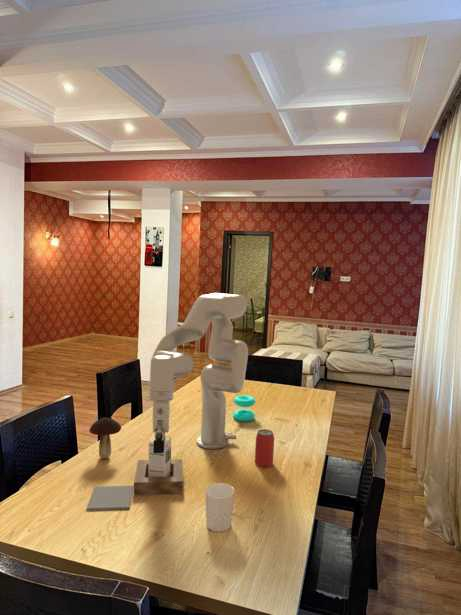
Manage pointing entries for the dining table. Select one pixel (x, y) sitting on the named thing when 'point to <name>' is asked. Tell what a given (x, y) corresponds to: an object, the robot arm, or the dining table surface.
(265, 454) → the beer can
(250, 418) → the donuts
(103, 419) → the decorative mushroom
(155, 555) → the dining table surface
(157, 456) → the syrup box
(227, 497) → the white cup
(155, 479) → the walnut pocket holder
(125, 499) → the slate mat
